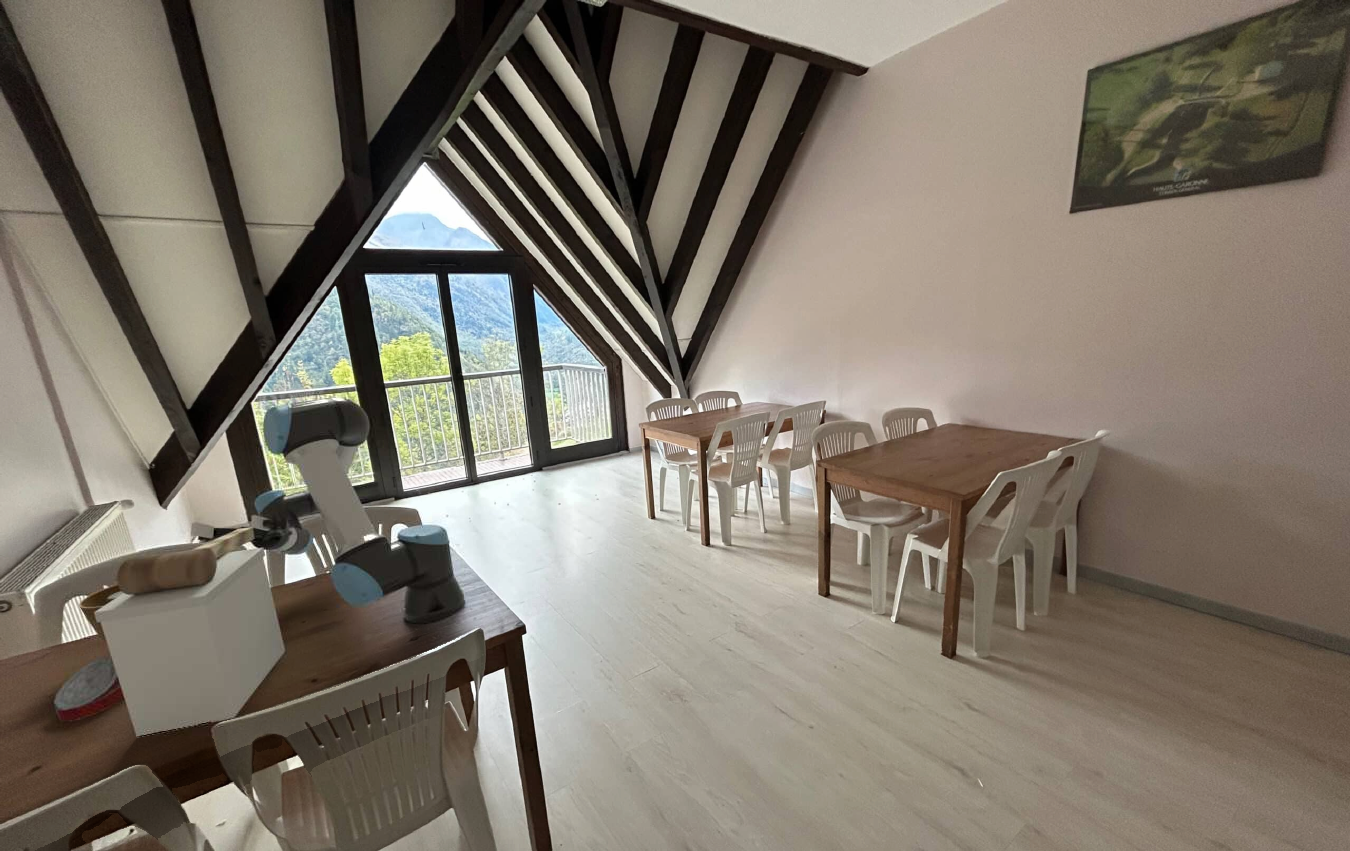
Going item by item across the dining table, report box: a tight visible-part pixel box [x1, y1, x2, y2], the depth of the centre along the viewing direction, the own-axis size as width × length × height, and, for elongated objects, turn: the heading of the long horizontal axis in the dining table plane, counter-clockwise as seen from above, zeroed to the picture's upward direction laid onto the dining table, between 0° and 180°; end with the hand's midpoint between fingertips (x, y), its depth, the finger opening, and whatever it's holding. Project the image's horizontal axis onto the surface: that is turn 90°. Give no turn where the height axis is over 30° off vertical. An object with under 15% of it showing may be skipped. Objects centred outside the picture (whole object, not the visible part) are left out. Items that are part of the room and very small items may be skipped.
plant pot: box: [78, 583, 121, 646], centre depth 126 cm, size 15×15×16 cm
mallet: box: [116, 526, 255, 595], centre depth 112 cm, size 30×12×7 cm, turn 15°
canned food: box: [53, 656, 124, 722], centre depth 108 cm, size 11×10×10 cm
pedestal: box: [94, 548, 286, 737], centre depth 108 cm, size 22×17×27 cm
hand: (223, 524), depth 118 cm, fingers open, 11 cm apart
